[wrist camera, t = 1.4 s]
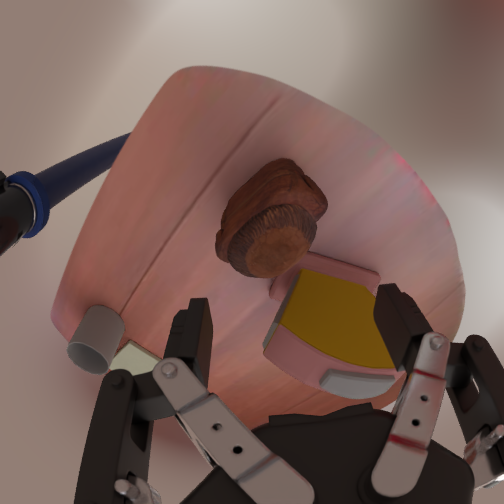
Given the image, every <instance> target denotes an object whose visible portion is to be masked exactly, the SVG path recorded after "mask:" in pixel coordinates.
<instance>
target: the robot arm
mask: <svg viewBox="0 0 504 504" xmlns="http://www.w3.org/2000/svg"><path fill="white" fill-rule="evenodd" d="M5 179H6V176H5V174H4V173H2V171H0V256H1V255H2V254H3V253H5V252H6V251H7V250H8V249H9V248H10V247H11V246H12V245H13V244H14V243H15V244H17V243H18V241H19V240H20V239H21V238H22V237H23V236H24V235H25V234H26V233H28V232H29V231H30V230H32V229H33V228H34V226H35V224H36V221H37V206H36V203H35V200H34V197H33V196H32V194H31V192H30V191H29V190H28V189H27V188H26V187H25V186H24V185H22V184H20V183H17V182H14V183H12V182H11V181H10V180H8V181H6V182H5ZM14 246H15V245H14ZM373 317H374V322H375V324H376V326H377V328H378V330H379V333H380V335H381V337H382V339H383V341H384V343H385V346H386V348H387V350H388V352H389V355H390V357H391V359H392V362H393V364H394V366H395V368H396V371H397V372H400V371H405V370H406V373H407V375H406V377H405V380H404V382H403V385H402V388H401V390H400V393H399V395H398V398H397V400H396V403H395V406H394V408H393V410H392V412H391V413H390V412H387V411H383V410H379V409H373V407H372V404H371V402H369V403H364V404H359V405H353V406H347V407H345V408H342V409H340V410H337V411H335V412H332V413H330V414H327V415H324V416H314V415H304V414H284V415H271V416H269V423H265V424H262V425H260V426H258V427H256V428H254V429H252V430H251V431H250V430H249V429H248V428H247V427H246V426H245V425H244V424H243V423H242V422H241V421H240V420H239V419H238V418H237V417H236V415H235V414H234V413H233V412H232V411H231V410H230V409H229V408H228V407H227V406H226V405H225V404H224V402H223V401H222V400H221V399H220V398H219V397H218V396H217V395H216V394H215V393H209V392H208V390H207V388H208V377H209V368H210V358H211V349H212V339H213V324H212V319H211V313H210V308H209V303H208V299H207V298H191V299H190V303H189V307H188V309H187V310H180V311H179V312H178V313H177V314H176V315H175V317H174V319H173V322H172V327H171V330H170V334H169V337H168V341H167V345H166V349H165V353H164V357H163V360H161V361H159V362H158V363H157V364H156V365H155V366H154V368H153V370H152V371H150V372H146V373H142V374H138V375H132V374H131V372H129V371H128V370H126V369H115V370H112V371H110V372H109V373H108V374H106V376H105V377H104V378H103V381H102V384H101V387H100V391H99V394H98V398H97V401H96V405H95V408H94V412H93V416H92V419H91V423H90V427H89V431H88V435H87V440H86V444H85V448H84V453H83V457H82V462H81V466H80V471H79V476H78V482H77V487H76V493H75V499H74V504H162V503H161V497H160V494H159V493H158V491H157V490H156V489H154V488H153V487H152V486H151V485H149V484H148V483H147V479H148V468H149V458H150V449H151V441H152V432H153V424H154V420H157V419H162V418H166V417H170V416H174V417H175V419H176V420H177V421H178V423H179V424H180V426H181V427H182V428H183V430H184V431H185V433H186V434H187V435H188V437H189V438H190V439H191V440H192V442H193V443H194V444H195V446H196V447H197V449H198V450H199V452H200V453H201V455H202V456H203V457H204V459H205V460H206V461H207V462H208V463H209V465H210V466H211V467H212V468H213V470H212V471H211V472H210V473H209V474H208V475H207V477H206V478H205V479H204V480H203V481H202V482H201V483H200V484H199V485H198V486H197V487H196V488H195V489H194V490H193V491H192V492H191V493H190V494H189V495H188V496H187V497H186V498H185V499H184V500H183V501H182V502H181V503H180V504H472V497H473V492H474V491H476V490H478V489H480V488H481V487H484V488H492V487H494V486H495V485H497V484H498V483H500V482H501V481H503V480H504V369H503V367H502V365H501V363H500V361H499V360H498V358H497V356H496V354H495V353H494V351H493V349H492V348H491V346H490V344H489V343H488V341H487V340H486V339H485V338H483V337H482V336H479V335H470V336H468V337H467V339H466V340H465V342H464V343H452V342H449V340H448V338H447V337H446V336H444V335H443V334H441V333H438V332H434V331H433V329H432V328H431V326H430V325H429V323H428V321H427V320H426V318H425V317H424V315H423V313H421V310H420V309H419V307H417V304H416V303H415V301H414V300H413V298H412V297H410V296H409V295H408V294H406V293H405V292H403V293H401V291H400V290H399V288H398V287H397V285H396V284H395V283H391V284H382V285H379V287H378V291H377V296H376V300H375V305H374V310H373ZM473 378H474V380H475V382H476V384H477V386H478V388H479V393H478V390H477V388H476V386H475V384H474V382H473ZM445 388H446V390H447V393H448V395H449V398H450V400H451V403H452V405H453V408H454V410H455V413H456V416H457V418H458V421H459V424H460V426H461V429H462V432H463V435H464V438H465V441H466V444H467V445H466V446H465V449H464V458H463V459H462V458H461V457H459V456H457V455H456V454H454V453H453V452H451V451H450V450H448V449H446V448H445V447H443V446H442V445H440V444H439V443H437V442H435V441H434V440H432V439H431V437H432V434H433V431H434V428H435V424H436V421H437V417H438V414H439V411H440V407H441V403H442V399H443V395H444V391H445Z"/></svg>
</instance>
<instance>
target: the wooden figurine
mask: <svg viewBox="0 0 504 504" xmlns="http://www.w3.org/2000/svg"><path fill="white" fill-rule="evenodd" d="M327 207H328V202H327V199H326V197H325V195H324V194H323V192H322V191H321V189H320V188H319V187H318V186H317V185H316V183H315V182H314V181H313V180H312V179H311V178H310V177H308V176H307V175H304V173H303V171H302V169H301V168H300V167H298V166H297V165H296V164H295V162H294V161H293V160H290V159H286V158H281V159H278V160H275V161H272V162H270V163H268V164H267V165H265V166H264V167H263V168H262V169H261V170H260V171H259V172H258V173H256V174H255V175H254V176H253V177H252V178H251V179H250V180H249V181H248V182H247V183H246V184H245V185H243V186H242V187H241V188H240V189H239V190H238V191H237V192H236V193H235V194H234V195H233V196H232V197H231V199H230V200H229V202H228V205H227V207H226V209H225V210H224V212H223V215H222V219H221V229H220V230H219V231H218V232H217V234H216V243H215V250H216V254H217V256H218V258H219V259H221V260H222V261H224V262H227V263H230V264H231V265H232V267H233V268H234V269H235V270H236V271H238V272H240V273H241V274H243V275H245V276H248V277H255V278H273V277H276V276H279V275H281V274H283V273H285V272H286V271H287V270H289V269H290V268H291V267H293V266H294V265H295V264H296V263H297V262H299V261H300V260H301V259H302V258H303V257H304V256H305V254H306V253H307V251H308V250H309V248H310V246H311V244H312V242H313V240H314V238H315V235H316V230H317V225H316V221H318V220H319V219H320V218H321V217H322V216H323V214H324V213H325V212H326V210H327Z"/></svg>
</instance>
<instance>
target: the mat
mask: <svg viewBox="0 0 504 504" xmlns="http://www.w3.org/2000/svg"><path fill="white" fill-rule="evenodd" d="M161 360H162V359H160V358H158V357H157V356H155V355H153V354H152V353H150V352H149V351H147V350H146V349H144V348H142V347H141V346H139V345H138V344H136V343H135V342H133V341H132V340H130V341H129V342H128V343H127V344H126V345H125V346H124V347H123V348H122V349H121V350H120V351H119V352H118V353H117V354H116V355H115V356H114V358H113V360H112V363H111V365H110V369H111V370H115V369H126V370H128V371H129V372H131V374H132V375H138V374H142V373H146V372H150V371H152V370H153V368H154V366H155V365H156V364H157V363H158V362H159V361H161Z"/></svg>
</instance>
